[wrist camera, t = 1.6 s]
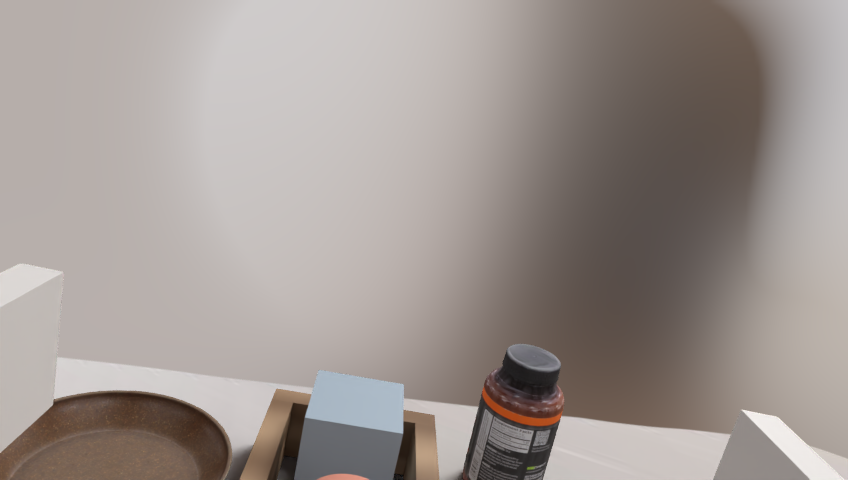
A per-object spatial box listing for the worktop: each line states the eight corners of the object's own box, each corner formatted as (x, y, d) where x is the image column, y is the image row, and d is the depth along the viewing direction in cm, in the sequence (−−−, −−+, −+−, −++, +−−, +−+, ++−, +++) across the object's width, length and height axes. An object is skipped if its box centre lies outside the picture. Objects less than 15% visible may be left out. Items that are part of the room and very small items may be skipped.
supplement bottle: (482, 452, 51) (514, 329, 48) (547, 488, 48) (587, 360, 45) (446, 485, 46) (480, 350, 43) (517, 527, 43) (558, 386, 40)
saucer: (261, 451, 46) (266, 420, 45) (150, 614, 32) (154, 572, 31) (78, 401, 47) (80, 370, 46) (-109, 537, 33) (-110, 495, 32)
